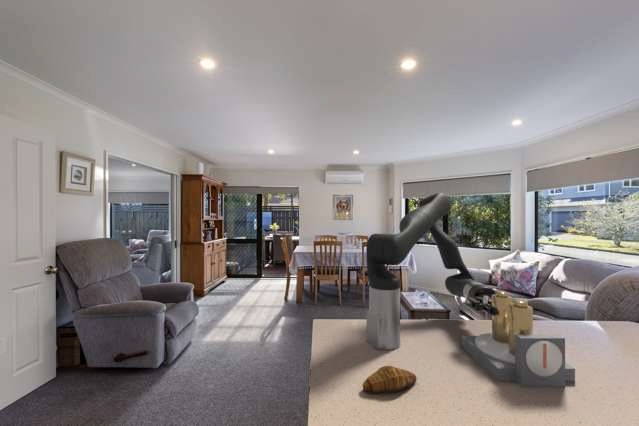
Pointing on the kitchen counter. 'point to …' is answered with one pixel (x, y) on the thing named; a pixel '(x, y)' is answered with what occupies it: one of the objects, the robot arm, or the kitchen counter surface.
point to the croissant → (388, 380)
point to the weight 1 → (501, 316)
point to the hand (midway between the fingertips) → (507, 312)
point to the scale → (522, 359)
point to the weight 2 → (519, 321)
